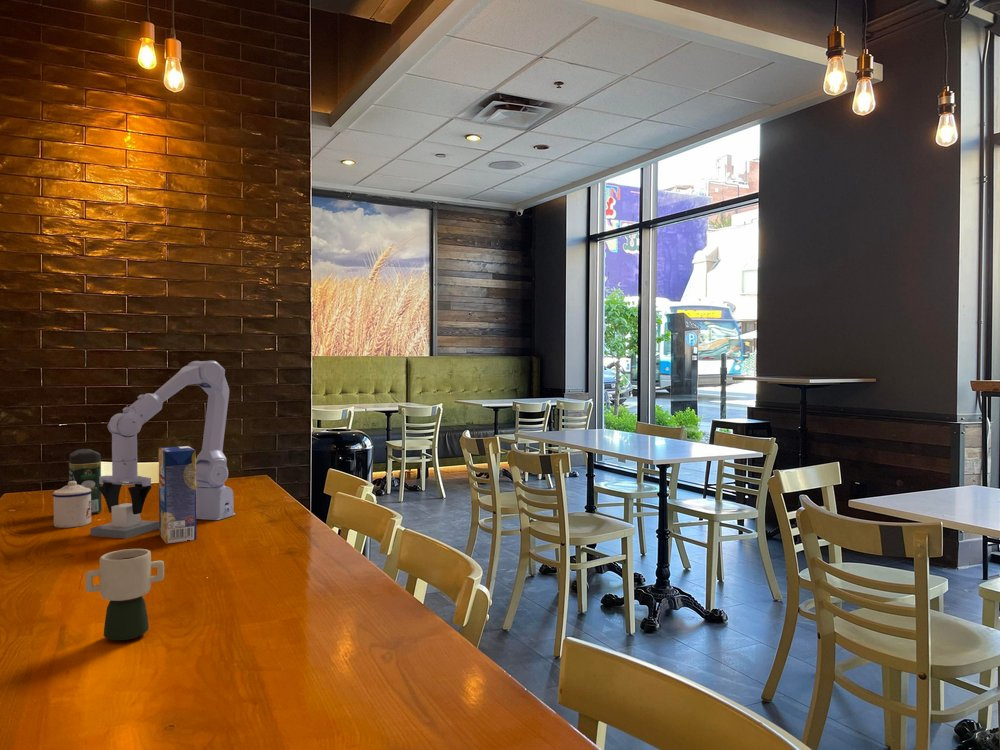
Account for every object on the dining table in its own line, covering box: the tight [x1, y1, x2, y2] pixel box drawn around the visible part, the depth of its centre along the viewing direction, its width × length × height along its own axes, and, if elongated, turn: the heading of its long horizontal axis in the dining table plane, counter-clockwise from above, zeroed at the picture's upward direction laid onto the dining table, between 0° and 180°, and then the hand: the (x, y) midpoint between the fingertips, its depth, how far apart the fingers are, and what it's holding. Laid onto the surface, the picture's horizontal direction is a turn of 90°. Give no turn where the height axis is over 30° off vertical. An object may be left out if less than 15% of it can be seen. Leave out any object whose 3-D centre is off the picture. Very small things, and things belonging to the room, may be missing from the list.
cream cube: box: [111, 502, 141, 527], centre depth 180 cm, size 5×5×5 cm
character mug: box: [85, 548, 165, 641], centre depth 110 cm, size 11×7×13 cm, turn 125°
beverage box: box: [158, 445, 197, 544], centre depth 174 cm, size 7×11×22 cm, turn 33°
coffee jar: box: [68, 448, 103, 516], centre depth 204 cm, size 10×8×19 cm
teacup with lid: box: [52, 480, 92, 529], centre depth 190 cm, size 12×9×12 cm
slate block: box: [90, 519, 159, 539], centre depth 180 cm, size 11×11×2 cm
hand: (125, 512), depth 180 cm, fingers open, 7 cm apart
